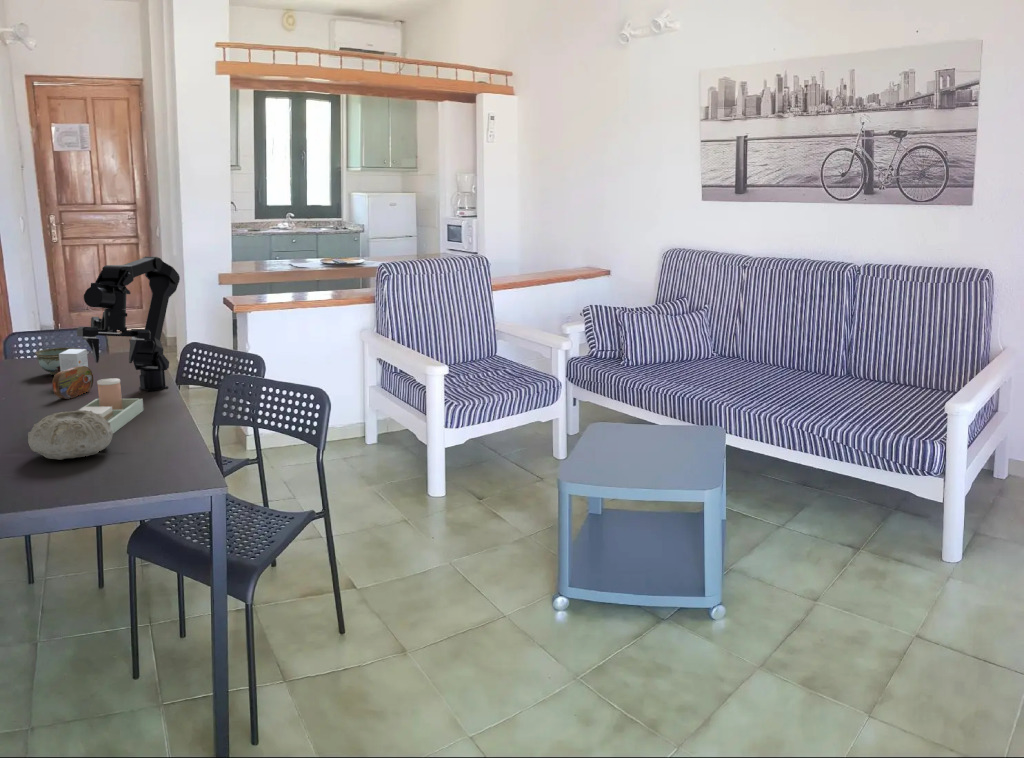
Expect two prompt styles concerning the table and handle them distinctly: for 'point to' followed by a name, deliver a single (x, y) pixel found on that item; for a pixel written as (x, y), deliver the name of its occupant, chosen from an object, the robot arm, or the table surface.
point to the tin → (72, 382)
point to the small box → (73, 358)
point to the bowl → (50, 359)
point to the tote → (122, 412)
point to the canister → (110, 393)
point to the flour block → (101, 411)
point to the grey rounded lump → (70, 435)
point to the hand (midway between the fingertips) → (113, 362)
